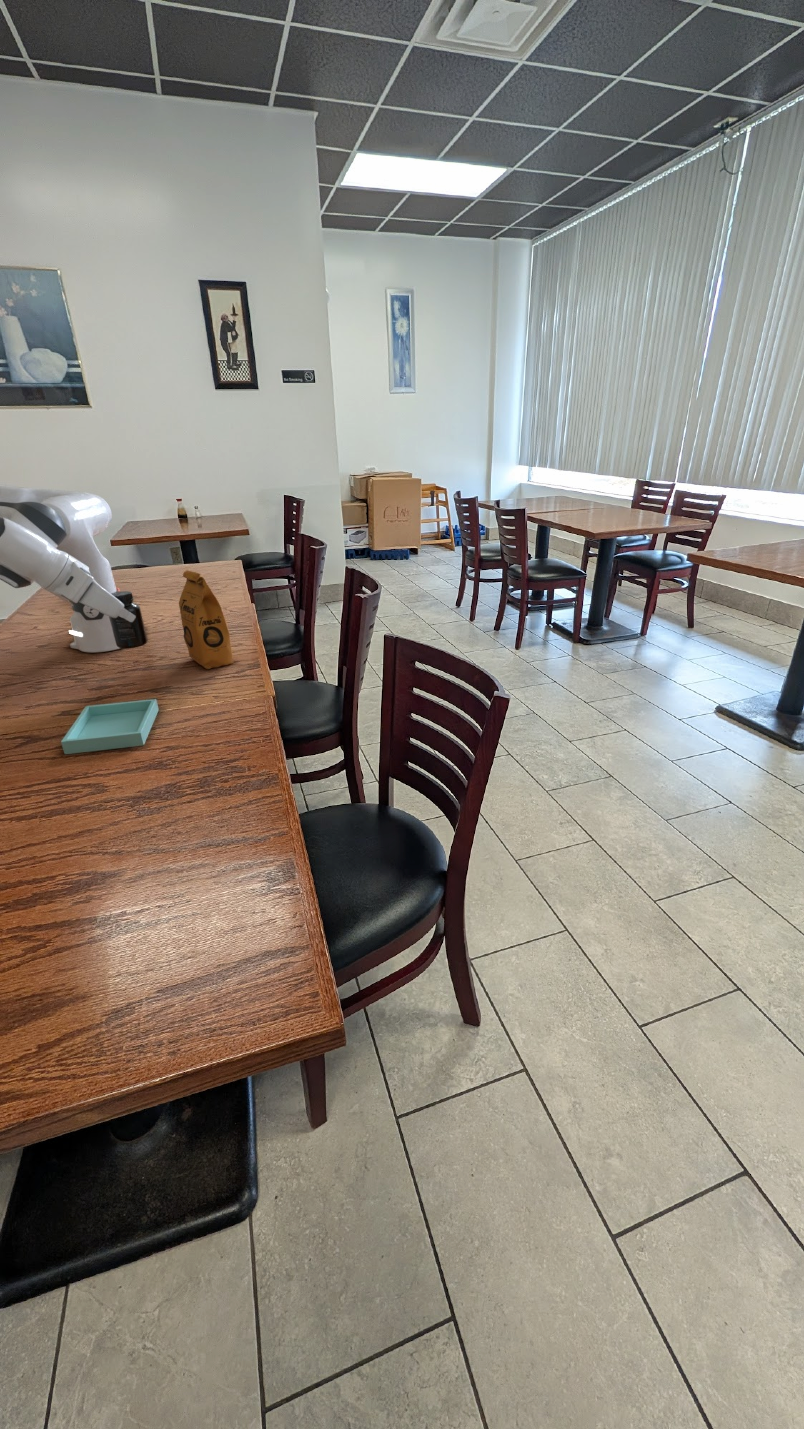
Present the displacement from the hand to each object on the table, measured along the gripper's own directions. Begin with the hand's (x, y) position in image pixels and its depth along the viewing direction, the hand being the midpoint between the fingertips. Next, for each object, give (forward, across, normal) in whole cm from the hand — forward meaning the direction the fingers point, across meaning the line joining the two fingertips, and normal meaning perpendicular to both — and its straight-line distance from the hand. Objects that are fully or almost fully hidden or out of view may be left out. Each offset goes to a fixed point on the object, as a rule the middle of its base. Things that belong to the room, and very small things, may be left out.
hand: (128, 615), depth 133 cm
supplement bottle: (+5, 0, -5) cm, 7 cm away
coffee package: (+22, +2, +1) cm, 22 cm away
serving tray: (+1, +26, -20) cm, 33 cm away
